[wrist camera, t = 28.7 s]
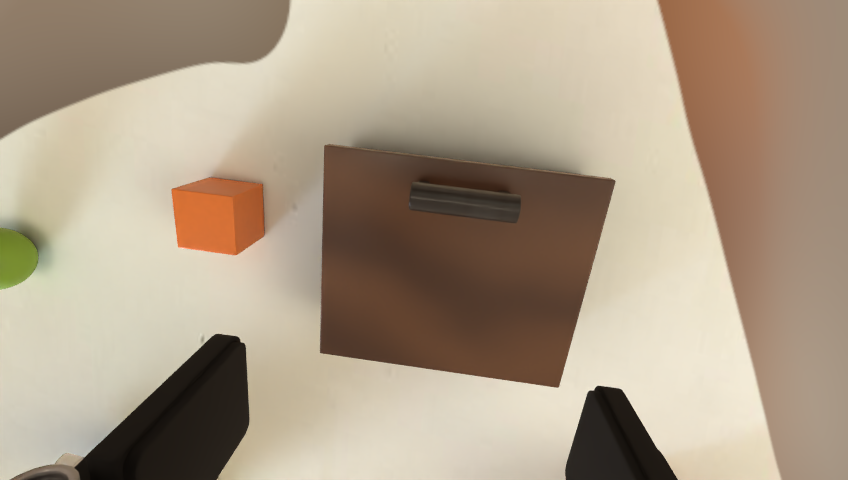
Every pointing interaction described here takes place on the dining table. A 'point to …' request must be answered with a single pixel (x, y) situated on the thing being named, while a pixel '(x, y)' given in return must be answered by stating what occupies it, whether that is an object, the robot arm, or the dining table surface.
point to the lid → (455, 262)
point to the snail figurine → (15, 258)
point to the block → (218, 215)
